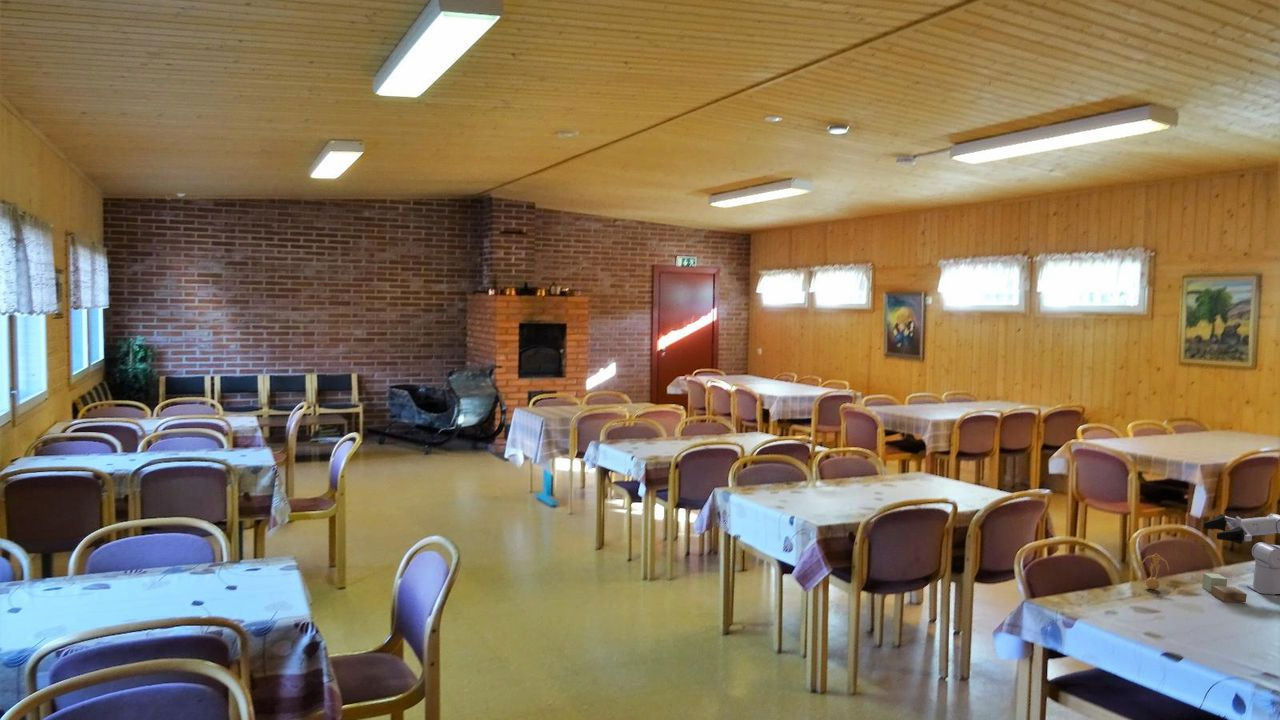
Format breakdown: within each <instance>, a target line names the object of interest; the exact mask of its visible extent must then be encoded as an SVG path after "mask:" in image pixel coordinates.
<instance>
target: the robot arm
mask: <svg viewBox="0 0 1280 720" xmlns="http://www.w3.org/2000/svg"><path fill="white" fill-rule="evenodd" d="M1226 527H1228V529H1229V530H1226ZM1203 528H1204V529H1206V530H1220V531H1219V532H1217V533H1216V540H1218V541H1219V540H1220V541H1228V542H1233V543H1235V544H1238V545H1242V544H1243V541H1245V542H1252V540H1253V536H1261V535H1271V534H1277V533H1278V534H1280V514H1276V513H1270V514H1268V515H1267V516H1262V517H1261V516H1258V517H1251V518H1241V517H1240V516H1235V518H1233V517H1230V516H1227V515H1225V514H1223V513H1220V514H1219V515H1217V516H1216V517H1213V518H1212V519H1210V520H1206V521H1205V522H1203ZM1251 555H1252V557H1253V558H1254V562H1255V564H1254V573H1253V581H1252V584H1246V587H1248V588H1249V589H1251V590H1253V591H1255V592H1256V593H1259V594H1261V595H1262V594H1265V595H1275V594H1280V545H1277V544H1269V543H1266V542H1264V541H1262V542H1257V543H1255V544H1254V545H1253V546H1252V548H1251Z"/></svg>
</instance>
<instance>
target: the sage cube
mask: <svg viewBox="0 0 1280 720" xmlns="http://www.w3.org/2000/svg"><path fill="white" fill-rule="evenodd" d="M1202 574H1203V576H1202V586H1201V588H1203V589H1204V590H1206V591H1207V592H1209V593H1212V586H1227V585H1228V578H1227V577H1225V576H1223V575H1222V574H1219V573H1207V572H1206V573H1205V572H1204V573H1202ZM1227 587H1228V586H1227Z"/></svg>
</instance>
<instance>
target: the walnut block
mask: <svg viewBox="0 0 1280 720" xmlns="http://www.w3.org/2000/svg"><path fill="white" fill-rule="evenodd" d="M1211 595H1212V596H1213V597H1215V598H1216V599H1219V600H1220V601H1222V602H1223V601H1224V602H1227V603H1237V602H1246V603H1247V597H1248V596H1247V595H1248V593H1246V592H1244V591H1242V590H1241V589H1239V588H1237V587H1235V586H1212V592H1211ZM1224 602H1223V603H1224Z"/></svg>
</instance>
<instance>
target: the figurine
mask: <svg viewBox="0 0 1280 720" xmlns="http://www.w3.org/2000/svg"><path fill="white" fill-rule="evenodd" d="M1151 558H1152V562H1153V563H1152V562H1151V563H1150V567H1149V569H1150V576H1149V577H1147V579H1146V580H1145V585H1146V587H1147V589H1149V590H1152V591H1153V590H1157V589H1159V587H1160V581H1159V580H1158V574H1159V570H1160V567H1161V564H1159V562H1160V561H1163V562H1165V564H1166V568H1167V571H1168V572H1169V571H1170V567H1169V564H1168V561H1167V560H1166V559H1165V558H1163V557H1162V556H1160V554H1159V553H1158V552H1156V553H1155V554H1153V555H1148V556H1145V558H1144V559H1143V560H1142V562H1141V563H1140V566H1143V564H1144V562H1145V561H1146V560H1147V559H1151ZM1154 568H1155V576H1153V574H1154V573H1153V570H1154Z"/></svg>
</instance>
